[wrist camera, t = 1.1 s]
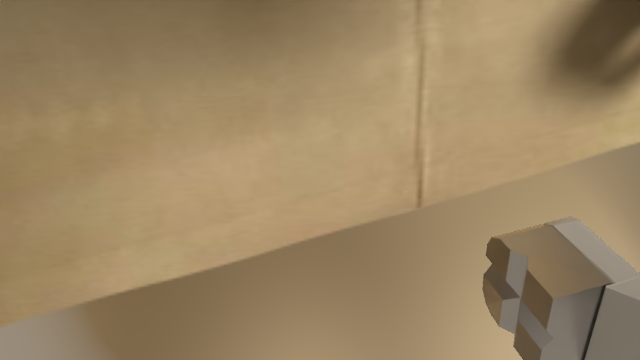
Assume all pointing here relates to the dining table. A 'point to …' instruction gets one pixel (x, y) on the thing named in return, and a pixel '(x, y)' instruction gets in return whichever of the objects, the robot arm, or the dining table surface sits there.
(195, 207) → the dining table surface
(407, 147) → the dining table surface
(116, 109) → the dining table surface
